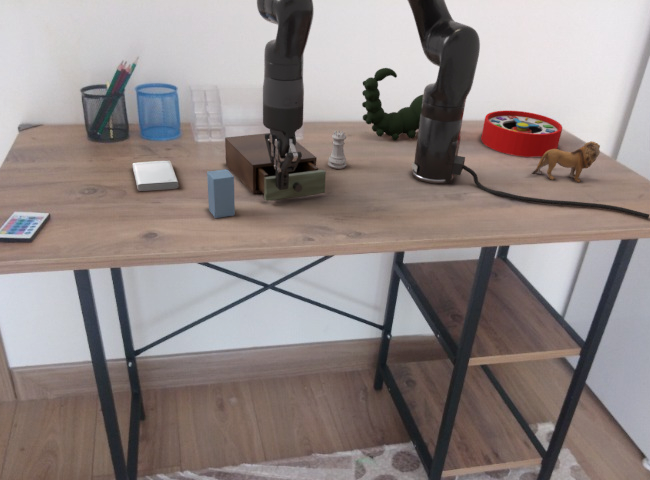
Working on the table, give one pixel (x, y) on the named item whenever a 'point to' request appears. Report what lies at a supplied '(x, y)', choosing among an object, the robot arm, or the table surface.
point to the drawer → (291, 181)
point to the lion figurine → (570, 159)
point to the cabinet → (253, 157)
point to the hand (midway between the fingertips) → (281, 188)
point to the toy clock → (520, 133)
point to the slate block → (221, 193)
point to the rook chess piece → (337, 151)
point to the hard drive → (154, 175)
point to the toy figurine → (392, 122)
